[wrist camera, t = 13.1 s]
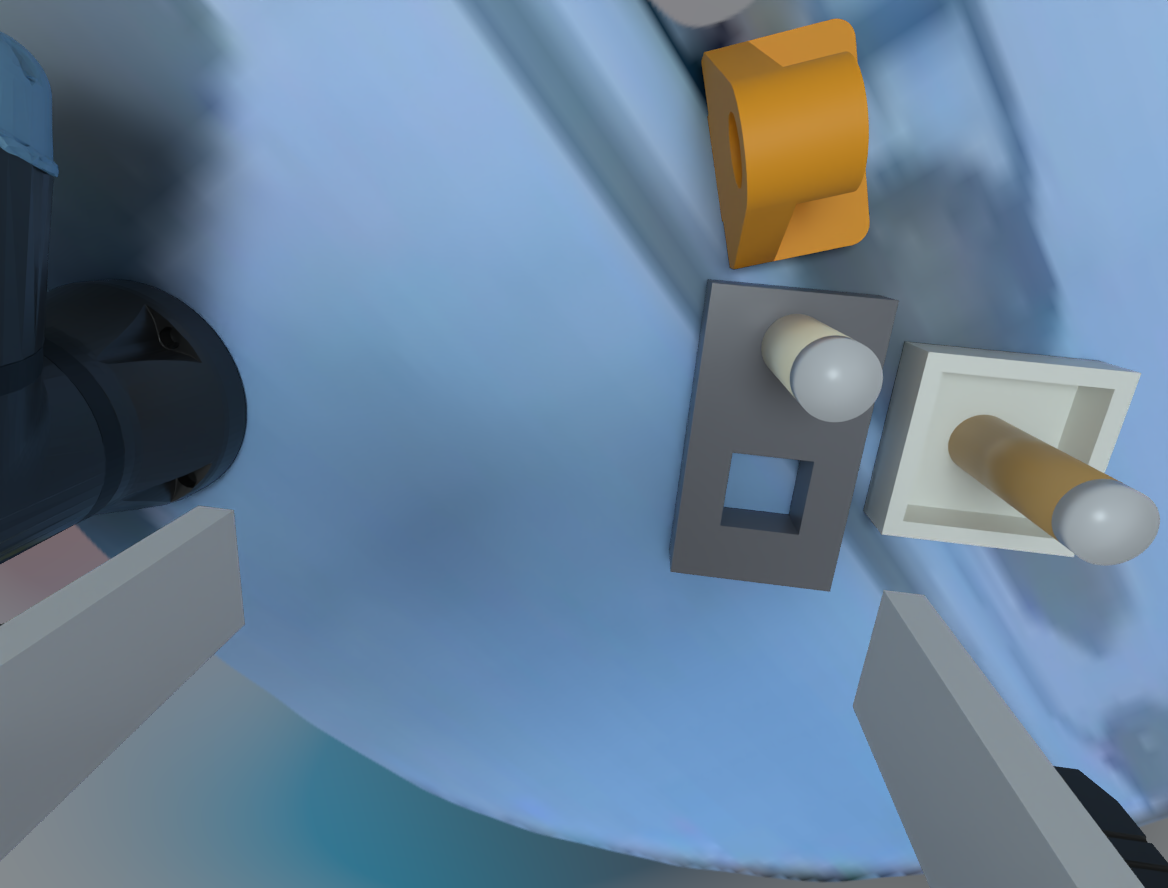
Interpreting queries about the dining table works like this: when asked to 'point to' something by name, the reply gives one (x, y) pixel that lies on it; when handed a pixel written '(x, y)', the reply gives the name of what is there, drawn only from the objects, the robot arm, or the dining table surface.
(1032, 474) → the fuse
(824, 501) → the fuse block
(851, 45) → the bracket
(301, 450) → the dining table surface
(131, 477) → the robot arm
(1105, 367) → the parts tray
